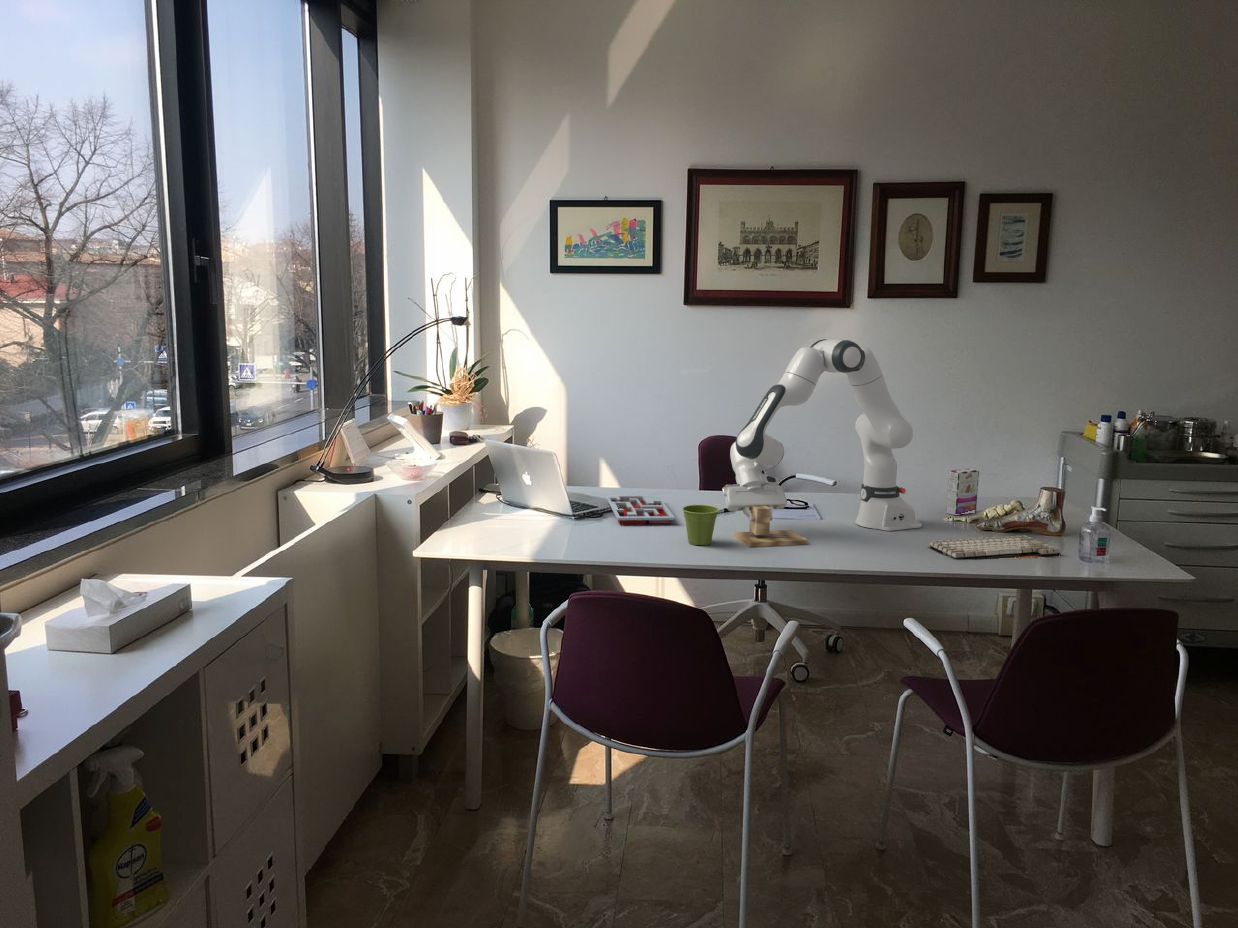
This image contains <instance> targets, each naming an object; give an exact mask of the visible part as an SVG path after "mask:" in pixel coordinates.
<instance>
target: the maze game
mask: <svg viewBox="0 0 1238 928" xmlns="http://www.w3.org/2000/svg"><path fill="white" fill-rule="evenodd" d="M605 498H606V501H607V502H608V504H610V506H611V508H612V509H611V508H610V509H611V510H612V511H613V513H614V516H615V519H616V520H617V522H618V524H619V525H620V526H623V525H627V526H630V525H635V526H636V525H638V526H639V525H647V523H648V524H649V525H671V521H676V517H675V516H674V514H673V513H672V512H671V511H670V509H669V508H668V506H667V505H666V503H665V502H664V500H662V499H661V497H660V496H659V495H656V494H655V495H651V494H650V495H649V494H648V495H645V494H644V495H621V494H620V495H617V494H614V495H609V494H608V495H605ZM617 505H619V506H620V507H619V509H618V507H617ZM610 506H609V507H610Z"/></svg>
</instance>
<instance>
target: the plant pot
mask: <svg viewBox="0 0 1238 928" xmlns="http://www.w3.org/2000/svg"><path fill="white" fill-rule="evenodd" d="M681 510H682V511H683V517H684V519H685V526H686V533H687V541H688V543H689V544H690V545H692V546H699V545H700V546H709V545H711V544H712V540H713V536H714V535H713V533H714V529H715V523H716V520H717V516H718V513H719V512H720V508H718V507H717V506H714V505H708V504H689V505H685V506H683V507H681Z"/></svg>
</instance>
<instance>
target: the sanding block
mask: <svg viewBox="0 0 1238 928" xmlns="http://www.w3.org/2000/svg"><path fill="white" fill-rule="evenodd" d="M749 512H750V513H751V514H754V517H755V520H754V521H749V531H748V532H749V533H751V534H753V535H754V536H756V537H758V536H769V531H770V528H771V527H770V526H771V521H770V512H771V509H770V508H769V507H767V506H751V510H749Z"/></svg>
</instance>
